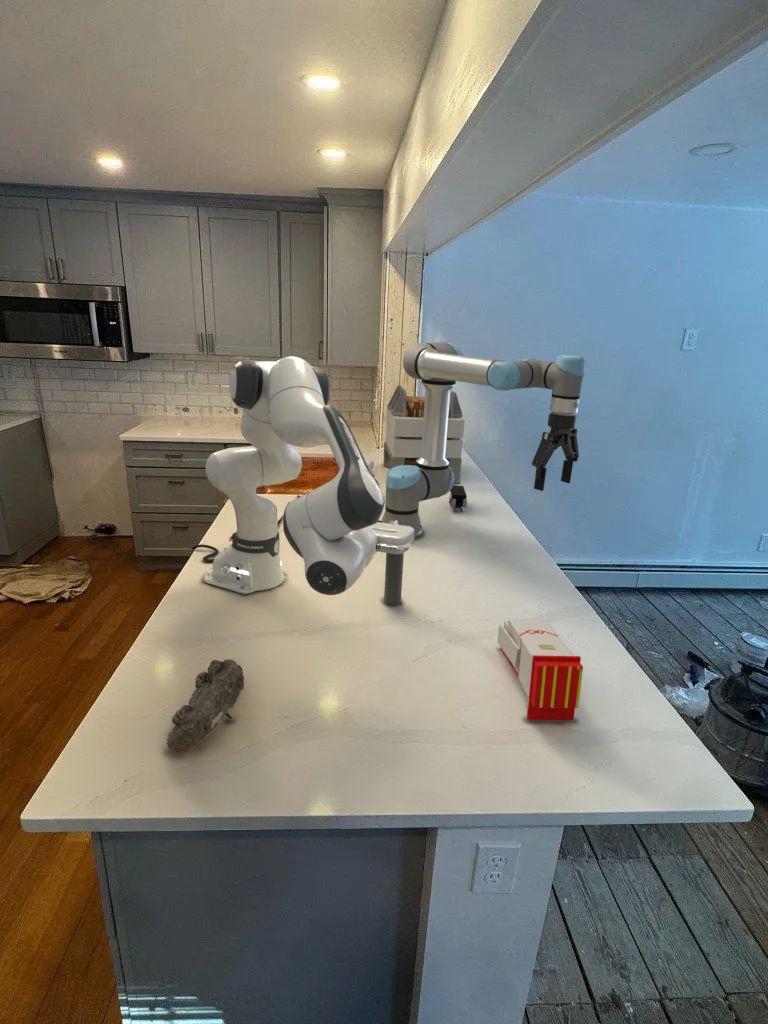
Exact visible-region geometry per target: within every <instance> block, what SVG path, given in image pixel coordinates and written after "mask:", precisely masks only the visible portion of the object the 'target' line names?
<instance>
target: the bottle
mask: <svg viewBox="0 0 768 1024" xmlns="http://www.w3.org/2000/svg"><path fill="white" fill-rule="evenodd" d="M404 556H405V552H404V553H402V554H391V553H385V570H384V571H385V573H384V592H383V594H384V595H383V603H384V604H386V605H388V606H398V605H400V604H401V603H402V589H403V588H402V587H403V572H404V558H405V557H404Z"/></svg>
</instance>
